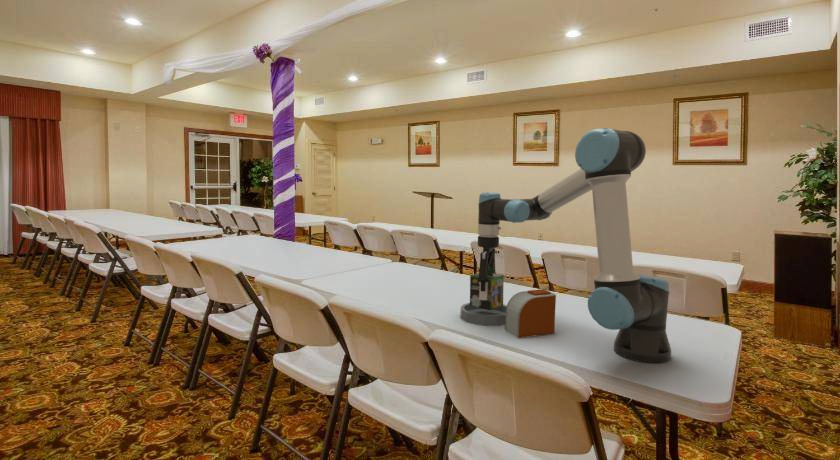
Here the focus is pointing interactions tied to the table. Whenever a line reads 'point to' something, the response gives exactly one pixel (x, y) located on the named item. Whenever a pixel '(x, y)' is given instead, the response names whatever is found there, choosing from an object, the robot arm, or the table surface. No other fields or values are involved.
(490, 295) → the chalk box
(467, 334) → the table surface
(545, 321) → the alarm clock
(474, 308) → the round tray
